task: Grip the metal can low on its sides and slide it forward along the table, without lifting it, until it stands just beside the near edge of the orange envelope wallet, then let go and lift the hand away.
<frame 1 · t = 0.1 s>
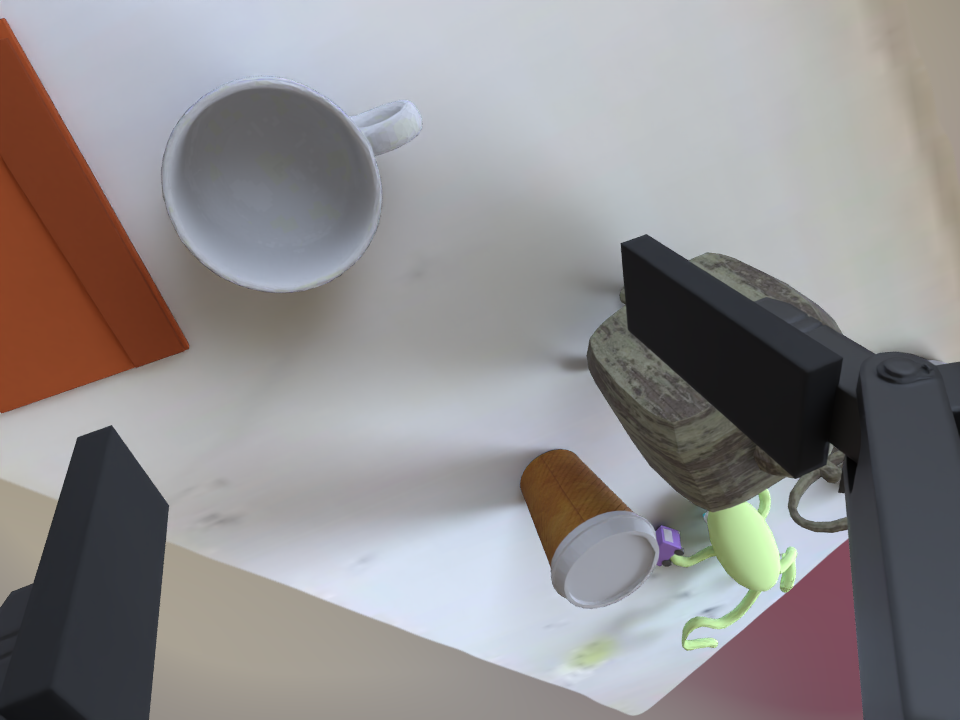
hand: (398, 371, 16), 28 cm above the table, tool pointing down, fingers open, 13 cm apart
disposable coffee cup: (549, 474, 61), on the table
figurine: (718, 542, 77), on the table
teacup: (294, 150, 39), on the table
orange envelope wallet: (4, 239, 36), on the table
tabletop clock: (632, 306, 54), on the table
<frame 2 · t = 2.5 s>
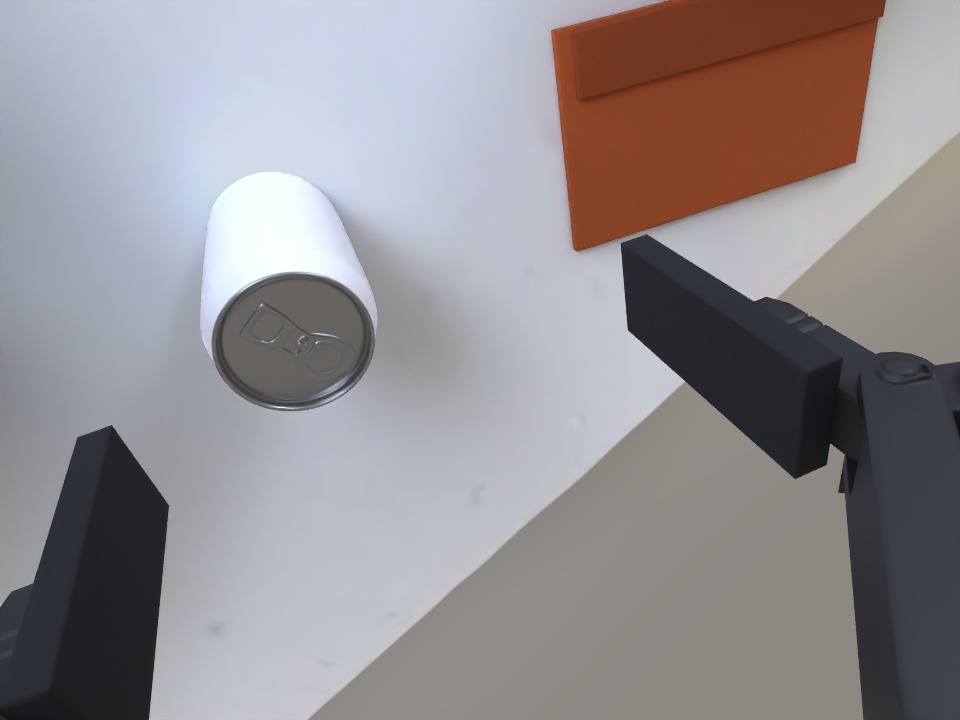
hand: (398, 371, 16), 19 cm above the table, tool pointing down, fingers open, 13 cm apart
orange envelope wallet: (720, 104, 37), on the table
can: (275, 232, 33), on the table
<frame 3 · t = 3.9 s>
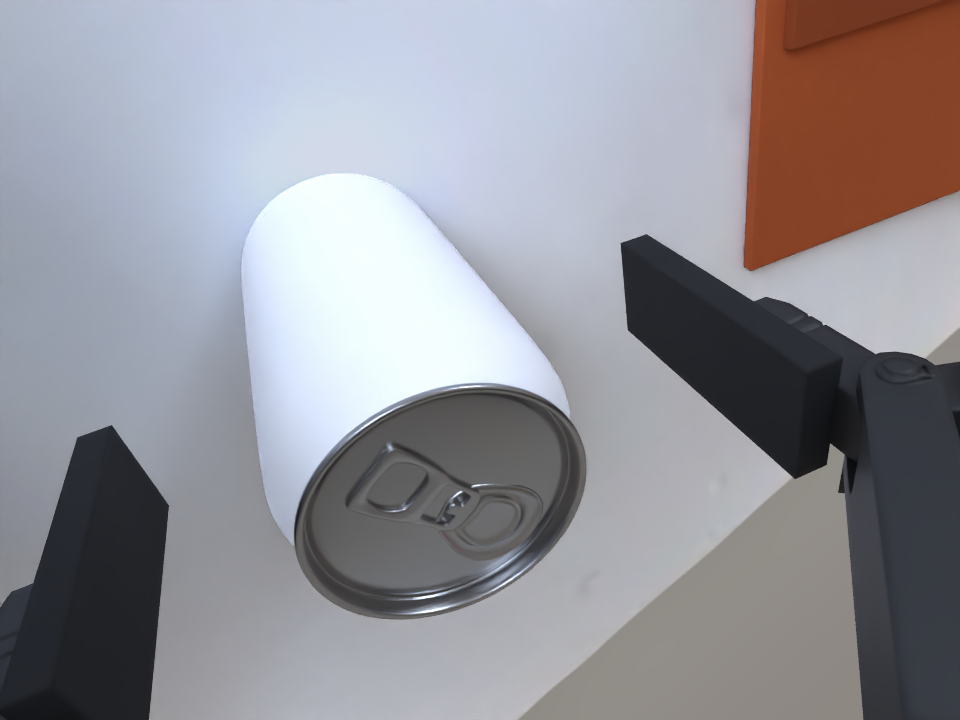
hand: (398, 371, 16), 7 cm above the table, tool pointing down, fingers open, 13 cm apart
can: (341, 264, 22), on the table
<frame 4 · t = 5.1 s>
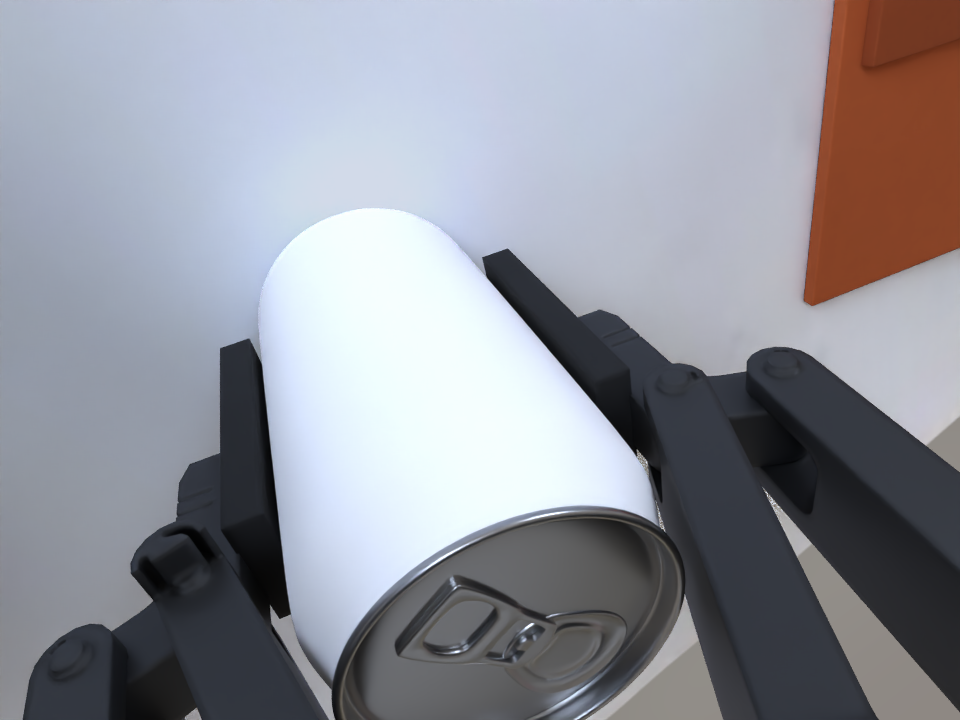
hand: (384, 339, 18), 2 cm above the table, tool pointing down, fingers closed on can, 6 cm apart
can: (369, 305, 19), on the table, touching gripper
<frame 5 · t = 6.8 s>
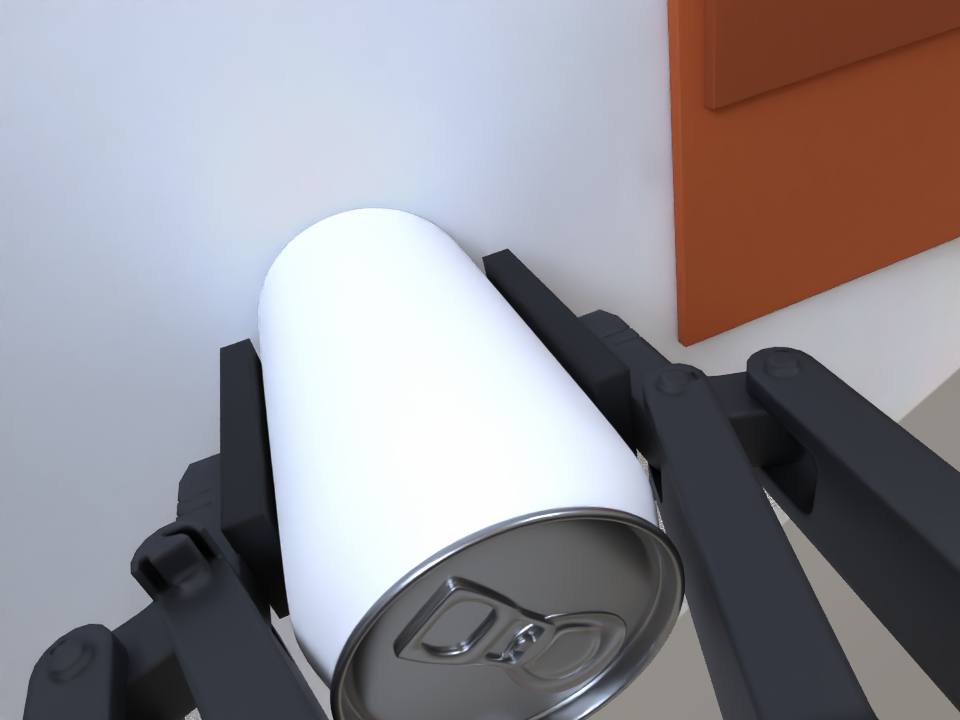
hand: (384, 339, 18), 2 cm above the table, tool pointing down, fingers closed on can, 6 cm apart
orange envelope wallet: (920, 104, 23), on the table
can: (369, 305, 19), on the table, touching gripper
when the fingers open (2 cm above the table, at t = 9.0 s): can stays where it is, on the table.
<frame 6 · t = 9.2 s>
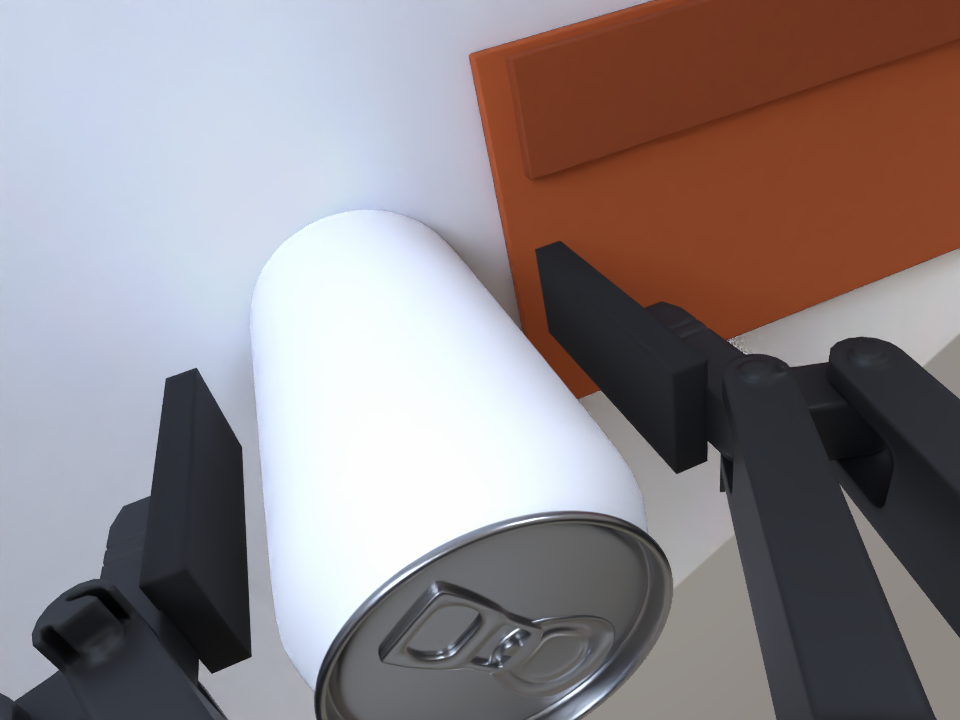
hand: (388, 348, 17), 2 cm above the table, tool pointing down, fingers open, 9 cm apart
orange envelope wallet: (780, 164, 22), on the table
can: (362, 307, 19), on the table
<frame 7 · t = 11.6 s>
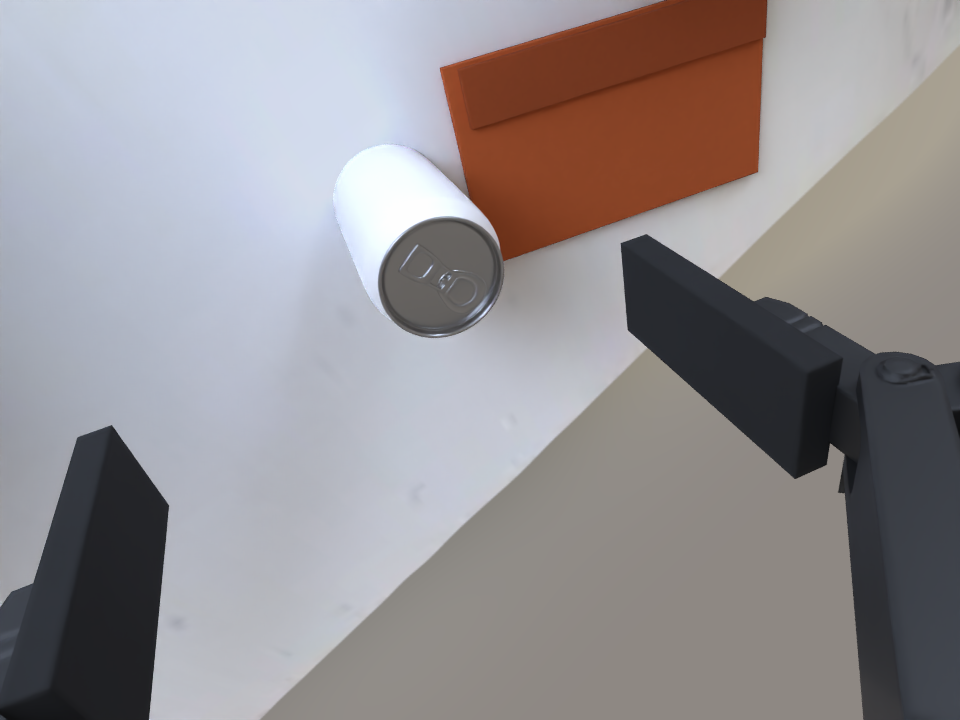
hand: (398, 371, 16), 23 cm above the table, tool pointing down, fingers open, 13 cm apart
orange envelope wallet: (615, 125, 39), on the table
can: (387, 198, 37), on the table
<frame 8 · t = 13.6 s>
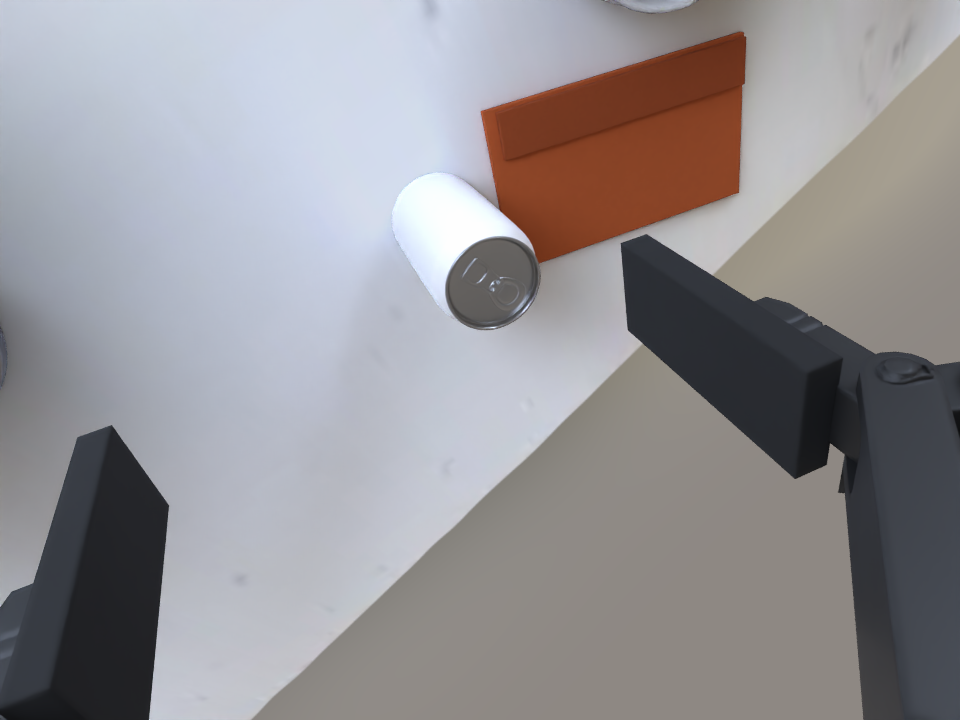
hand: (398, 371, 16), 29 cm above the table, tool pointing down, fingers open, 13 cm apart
orange envelope wallet: (621, 155, 47), on the table
can: (434, 215, 45), on the table
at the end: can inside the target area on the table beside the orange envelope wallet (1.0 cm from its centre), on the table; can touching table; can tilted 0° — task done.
